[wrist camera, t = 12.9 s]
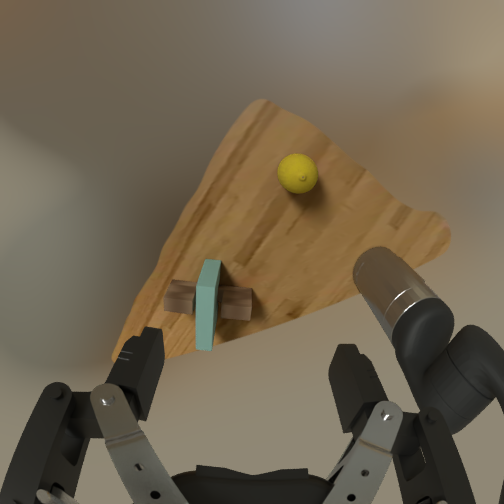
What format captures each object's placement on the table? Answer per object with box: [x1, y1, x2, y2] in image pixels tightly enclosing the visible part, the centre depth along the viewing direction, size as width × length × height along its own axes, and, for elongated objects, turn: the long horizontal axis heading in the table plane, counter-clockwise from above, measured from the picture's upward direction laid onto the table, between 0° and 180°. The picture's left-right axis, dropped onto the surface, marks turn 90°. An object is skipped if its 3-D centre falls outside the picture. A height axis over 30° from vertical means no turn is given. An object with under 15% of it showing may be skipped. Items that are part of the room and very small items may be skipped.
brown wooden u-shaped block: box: [164, 280, 252, 321], centre depth 46 cm, size 14×3×6 cm, turn 84°
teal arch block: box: [196, 259, 221, 351], centre depth 45 cm, size 12×3×9 cm, turn 173°
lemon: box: [277, 154, 318, 194], centre depth 37 cm, size 6×6×8 cm
